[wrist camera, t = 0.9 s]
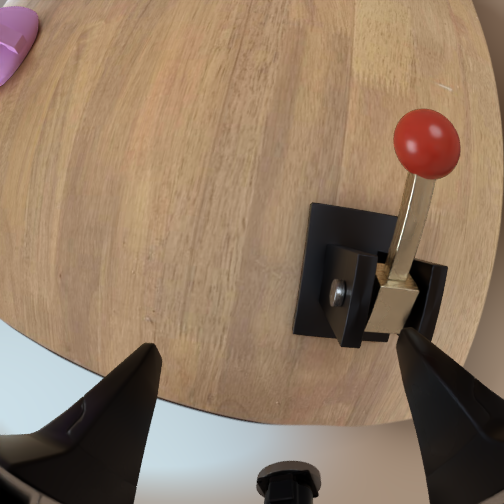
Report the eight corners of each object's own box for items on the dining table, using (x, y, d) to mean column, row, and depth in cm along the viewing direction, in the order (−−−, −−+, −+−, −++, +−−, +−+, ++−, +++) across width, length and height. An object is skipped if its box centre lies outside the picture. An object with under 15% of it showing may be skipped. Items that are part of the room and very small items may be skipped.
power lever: (388, 101, 11) (414, 98, 8) (443, 119, 11) (478, 123, 8) (347, 299, 16) (355, 336, 13) (395, 304, 16) (410, 339, 13)
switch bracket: (310, 203, 21) (333, 184, 12) (404, 219, 21) (475, 215, 11) (292, 329, 22) (297, 394, 13) (383, 337, 22) (433, 395, 12)
